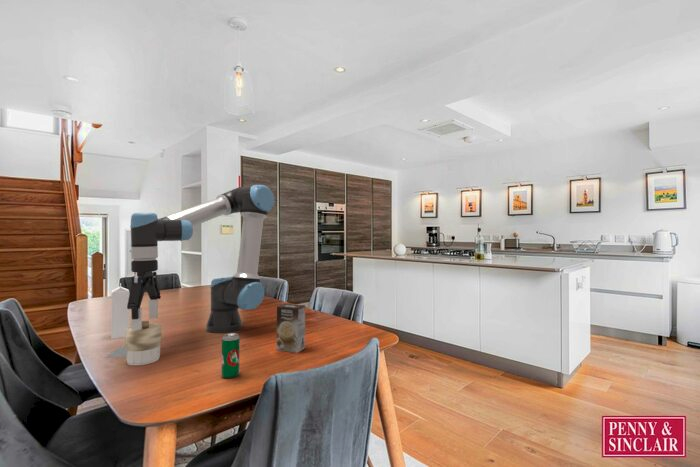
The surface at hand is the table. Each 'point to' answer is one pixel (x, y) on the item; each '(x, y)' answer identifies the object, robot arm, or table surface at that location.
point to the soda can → (230, 355)
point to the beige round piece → (143, 337)
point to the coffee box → (290, 327)
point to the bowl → (143, 356)
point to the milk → (119, 312)
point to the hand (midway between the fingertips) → (145, 323)
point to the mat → (118, 352)
